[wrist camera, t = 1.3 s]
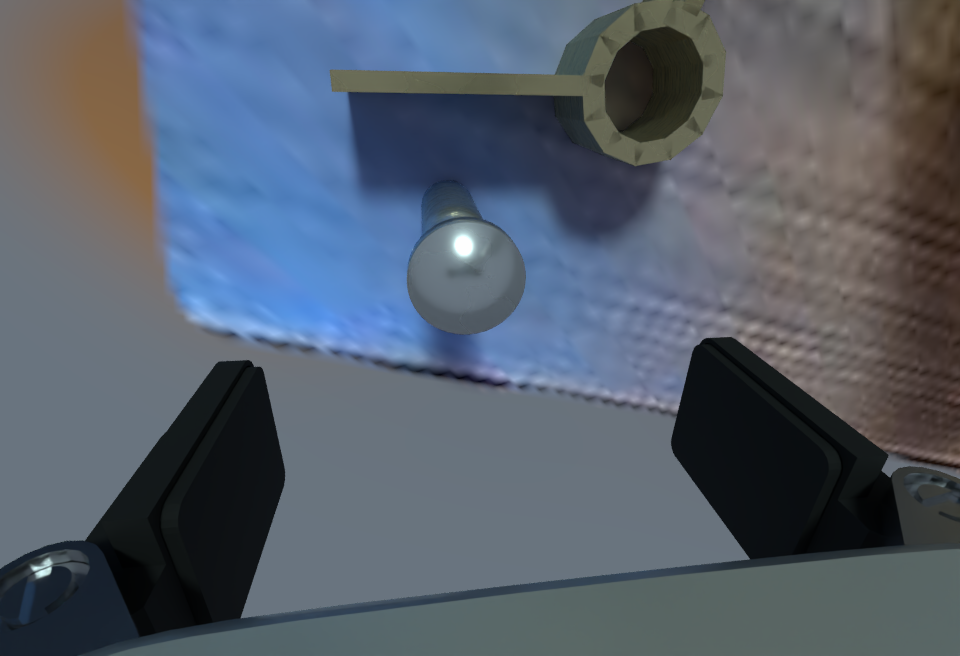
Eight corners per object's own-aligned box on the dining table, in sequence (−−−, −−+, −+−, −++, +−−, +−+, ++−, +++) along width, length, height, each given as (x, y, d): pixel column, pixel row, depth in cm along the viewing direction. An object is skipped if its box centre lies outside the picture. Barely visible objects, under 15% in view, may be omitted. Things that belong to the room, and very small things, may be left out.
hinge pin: (494, 184, 27) (544, 245, 16) (468, 251, 29) (499, 347, 18) (423, 158, 26) (429, 204, 15) (401, 229, 28) (392, 316, 17)
